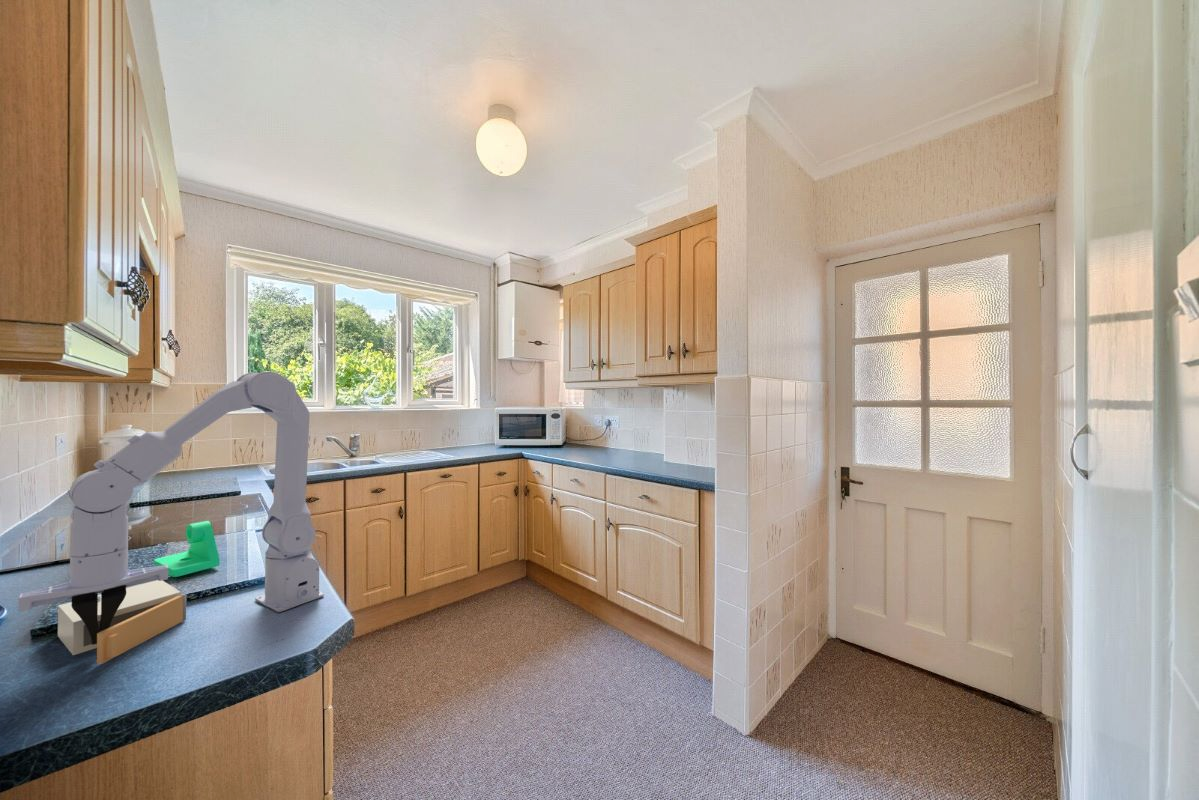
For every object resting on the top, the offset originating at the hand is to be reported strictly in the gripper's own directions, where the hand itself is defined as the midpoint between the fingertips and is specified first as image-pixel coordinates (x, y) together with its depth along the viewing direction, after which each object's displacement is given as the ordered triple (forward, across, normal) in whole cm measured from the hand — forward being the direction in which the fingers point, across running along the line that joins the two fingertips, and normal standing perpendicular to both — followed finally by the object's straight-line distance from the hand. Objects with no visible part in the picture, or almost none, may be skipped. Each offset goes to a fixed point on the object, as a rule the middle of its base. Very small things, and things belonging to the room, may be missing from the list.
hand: (99, 640), depth 65 cm
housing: (+2, -2, -9) cm, 9 cm away
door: (+2, -5, 0) cm, 6 cm away
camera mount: (+3, -13, -34) cm, 36 cm away
